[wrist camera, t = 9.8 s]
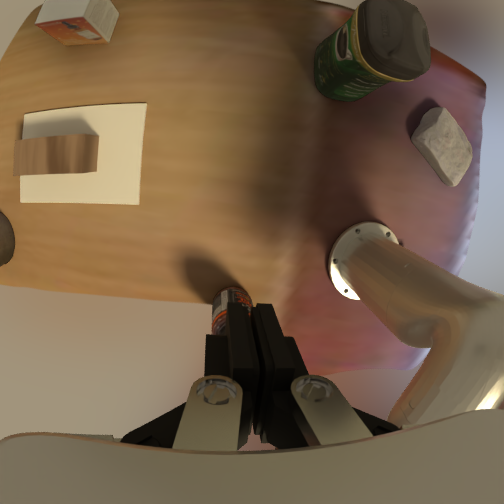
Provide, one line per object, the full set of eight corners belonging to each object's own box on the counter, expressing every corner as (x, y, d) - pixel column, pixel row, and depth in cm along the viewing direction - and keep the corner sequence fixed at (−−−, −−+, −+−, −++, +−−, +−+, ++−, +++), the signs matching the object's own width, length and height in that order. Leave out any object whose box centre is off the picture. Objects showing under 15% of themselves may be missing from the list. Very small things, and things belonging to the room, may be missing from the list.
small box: (65, 46, 30) (32, 25, 20) (76, 17, 29) (48, -10, 19) (109, 44, 32) (82, 17, 22) (121, 13, 30) (98, -19, 20)
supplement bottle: (260, 300, 45) (272, 341, 35) (235, 327, 46) (241, 372, 36) (228, 277, 44) (232, 315, 33) (204, 306, 45) (201, 349, 34)
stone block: (424, 103, 41) (405, 141, 40) (444, 97, 36) (426, 137, 36) (459, 151, 44) (442, 190, 44) (478, 149, 40) (463, 190, 39)
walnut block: (84, 133, 31) (15, 140, 29) (82, 173, 32) (13, 176, 30) (99, 136, 35) (33, 140, 34) (96, 171, 37) (31, 173, 35)
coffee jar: (362, 106, 38) (443, 84, 21) (311, 97, 37) (374, 60, 20) (361, 49, 36) (433, 6, 18) (312, 38, 35) (367, -22, 17)
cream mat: (147, 103, 35) (146, 103, 35) (139, 204, 39) (138, 204, 39) (26, 114, 33) (24, 114, 32) (21, 202, 37) (20, 202, 36)
